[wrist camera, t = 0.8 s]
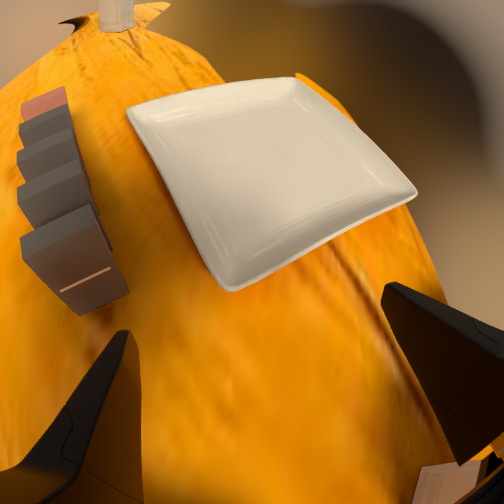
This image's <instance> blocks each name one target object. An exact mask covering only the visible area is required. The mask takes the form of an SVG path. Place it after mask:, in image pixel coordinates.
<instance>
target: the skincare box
mask: <svg viewBox="0 0 504 504" xmlns="http://www.w3.org/2000/svg"><path fill="white" fill-rule="evenodd" d="M98 10H99V21H100V31H101V32H122V31H124V30H127V29H129V28H132V27H134V5H133V0H98Z"/></svg>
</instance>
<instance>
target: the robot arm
mask: <svg viewBox="0 0 504 504" xmlns="http://www.w3.org/2000/svg"><path fill="white" fill-rule="evenodd" d="M381 307H382V309H383V311H384V314H385V316H386V318H387V320H388V322H389V325H390V327H391V329H392V332H393V334H394V336H395V338H396V340H397V342H398V344H399V346H400V347H401V349H402V351H403V353H404V355H405V356H406V358H407V360H408V362H409V364H410V366H411V367H412V369H413V371H414V373H415V375H416V377H417V379H418V381H419V383H420V385H421V387H422V389H423V390H424V392H425V394H426V396H427V398H428V400H429V402H430V404H431V407H432V409H433V411H434V413H435V415H436V417H437V419H438V421H439V423H440V424H441V425H440V426H441V428H442V430H443V432H444V434H445V437H446V439H447V441H448V443H449V446H450V448H451V450H452V453H453V455H454V457H455V460H456V462H457V464H458V466H459V467H460V466H461V465H463V464H464V463H466V462H467V461H468V460H470V459H471V458H472V457H474V456H475V455H476V454H478V453H479V452H480V451H482V450H483V449H484V448H485V447H487V446H488V445H489V444H490V446H491V447H492V449H493V451H492V452H491V453H490V454H489V455H487V456H486V457H485V458H484V459H483V460H481V463H480V468H479V473H478V477H477V481H476V485H475V486H476V487H475V488H473V489H472V490H471V491H470V492H468V493H467V494H466V495H464V496H463V497H462V498H460V499H459V500H458V501H456V502H455V503H453V504H504V331H502V330H500V329H497V328H495V327H493V326H490V325H487V324H486V323H484V322H481V321H479V320H477V319H475V318H473V317H470V316H469V315H467V314H465V313H462V312H460V311H458V310H456V309H454V308H452V307H450V306H448V305H446V304H444V303H441V302H439V301H437V300H435V299H433V298H431V297H428V296H426V295H424V294H422V293H420V292H418V291H415V290H413V289H411V288H409V287H407V286H404V285H402V284H400V283H398V282H390V283H387V284H386V285H385V286H384V290H383V294H382V298H381ZM0 504H144V499H143V484H142V463H141V380H140V365H139V351H138V347H137V344H136V342H135V340H134V337H133V335H132V333H131V331H130V330H119V331H117V332H116V334H115V335H114V336H113V338H112V339H111V340H110V342H109V343H108V344H107V346H106V347H105V348H104V350H103V351H102V352H101V354H100V355H99V357H98V358H97V359H96V361H95V362H94V363H93V365H92V366H91V368H90V369H89V370H88V372H87V373H86V375H85V376H84V377H83V379H82V380H81V382H80V383H79V385H78V386H77V387H76V389H75V390H74V392H73V393H72V395H71V396H70V398H69V399H68V400H67V402H66V405H64V406H63V408H62V409H61V411H60V412H59V414H58V415H57V417H56V418H55V419H54V421H53V422H52V424H51V425H50V426H49V428H48V429H47V430H46V431H45V433H44V434H43V435H42V437H41V438H40V439H39V440H38V442H37V443H36V444H35V445H34V447H33V448H32V449H31V450H30V452H29V453H28V454H27V455H26V457H25V458H24V459H23V460H22V461H21V462H20V463H19V464H17V465H16V466H14V467H12V468H10V469H7V470H4V471H1V472H0Z"/></svg>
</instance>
